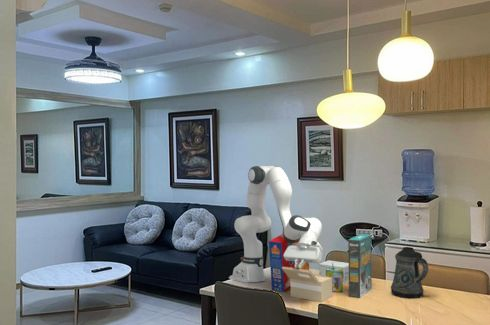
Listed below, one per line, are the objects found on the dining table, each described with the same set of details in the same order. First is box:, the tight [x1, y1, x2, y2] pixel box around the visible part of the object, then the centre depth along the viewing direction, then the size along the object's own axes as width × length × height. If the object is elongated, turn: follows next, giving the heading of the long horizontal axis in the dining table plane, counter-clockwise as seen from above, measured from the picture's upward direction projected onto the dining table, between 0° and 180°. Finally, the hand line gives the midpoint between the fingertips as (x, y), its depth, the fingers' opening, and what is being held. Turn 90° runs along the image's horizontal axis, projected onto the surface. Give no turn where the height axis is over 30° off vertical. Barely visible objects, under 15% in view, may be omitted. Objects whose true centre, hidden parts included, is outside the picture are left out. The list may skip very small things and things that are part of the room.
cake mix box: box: [347, 233, 373, 299], centre depth 259 cm, size 22×6×30 cm, turn 150°
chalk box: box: [326, 263, 344, 293], centre depth 265 cm, size 9×9×15 cm
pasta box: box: [268, 233, 310, 293], centre depth 272 cm, size 28×8×28 cm, turn 142°
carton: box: [290, 273, 333, 303], centre depth 252 cm, size 18×12×10 cm
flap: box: [282, 267, 318, 283], centre depth 243 cm, size 16×1×11 cm
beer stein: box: [390, 246, 429, 300], centre depth 254 cm, size 16×19×25 cm
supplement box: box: [318, 259, 349, 283], centre depth 291 cm, size 17×13×9 cm
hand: (297, 267), depth 239 cm, fingers closed
